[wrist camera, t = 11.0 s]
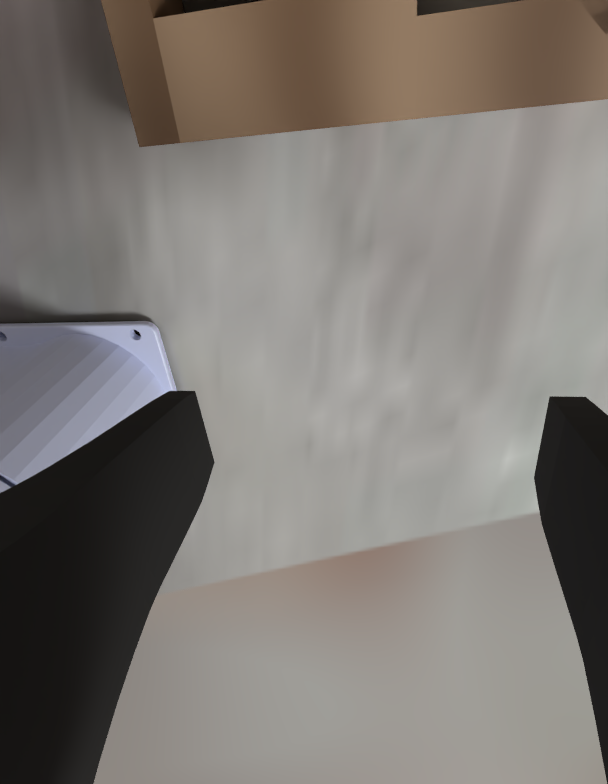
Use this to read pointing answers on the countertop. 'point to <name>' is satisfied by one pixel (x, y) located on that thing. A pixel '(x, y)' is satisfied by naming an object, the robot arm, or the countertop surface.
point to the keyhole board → (347, 63)
